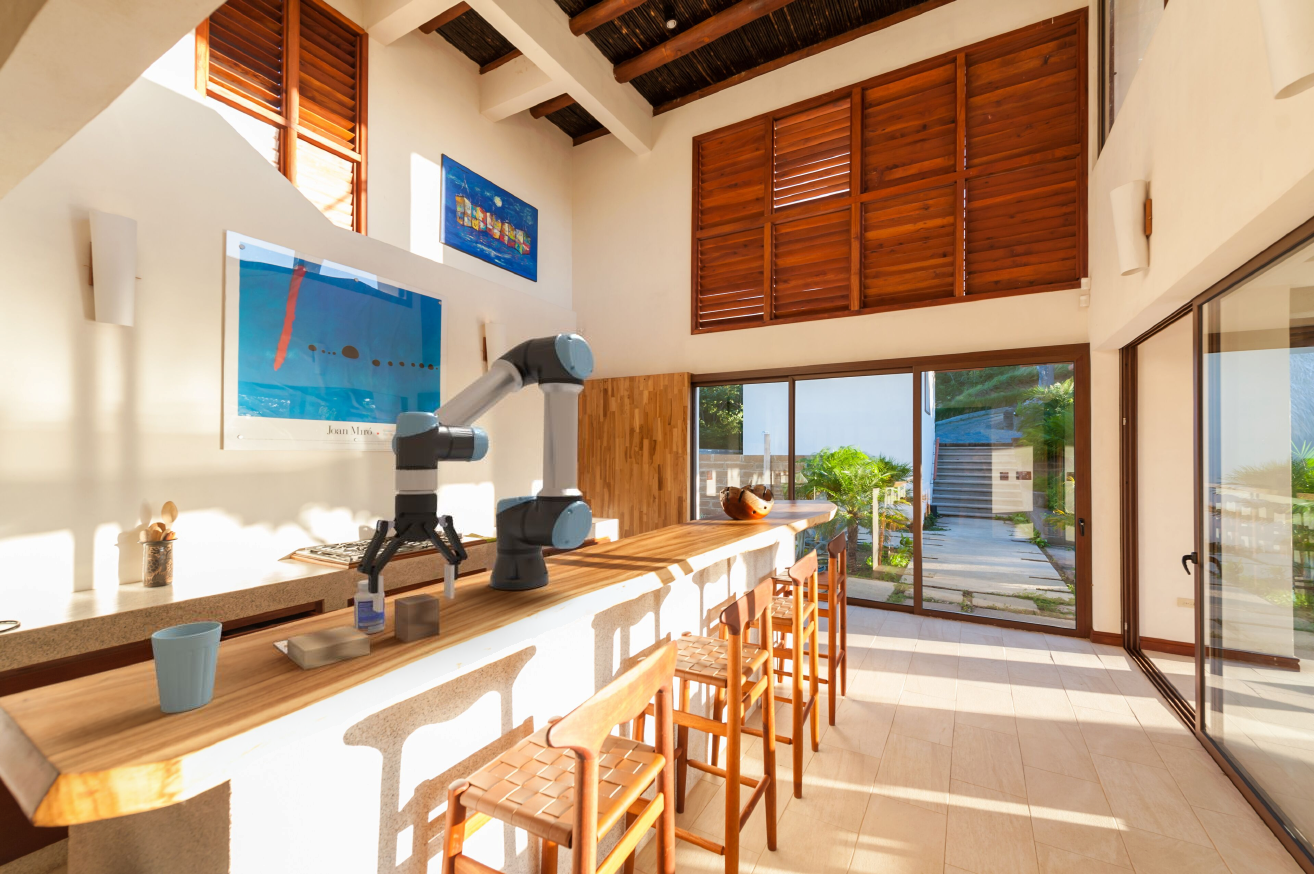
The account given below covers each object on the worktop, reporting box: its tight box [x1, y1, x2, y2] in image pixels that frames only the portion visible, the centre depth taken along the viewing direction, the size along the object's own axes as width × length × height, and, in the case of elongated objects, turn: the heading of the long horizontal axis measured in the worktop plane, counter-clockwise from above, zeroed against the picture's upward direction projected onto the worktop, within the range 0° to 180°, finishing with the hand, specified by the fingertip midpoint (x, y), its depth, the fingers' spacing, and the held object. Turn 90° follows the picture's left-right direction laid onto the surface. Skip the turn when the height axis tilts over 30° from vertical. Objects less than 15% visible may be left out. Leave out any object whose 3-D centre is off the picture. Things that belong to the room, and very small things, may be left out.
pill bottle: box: [353, 579, 386, 635], centre depth 113 cm, size 5×5×10 cm
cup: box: [150, 621, 223, 714], centre depth 80 cm, size 8×8×10 cm
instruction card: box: [273, 640, 287, 655], centre depth 106 cm, size 10×8×1 cm
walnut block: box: [394, 592, 440, 644], centre depth 110 cm, size 6×6×7 cm
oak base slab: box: [286, 624, 371, 671], centre depth 99 cm, size 10×10×3 cm
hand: (415, 604), depth 109 cm, fingers open, 13 cm apart
